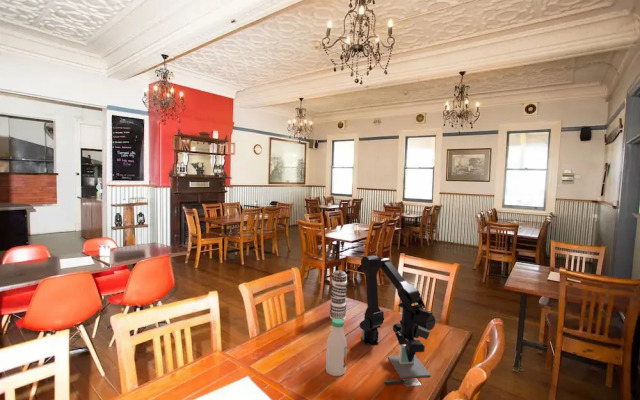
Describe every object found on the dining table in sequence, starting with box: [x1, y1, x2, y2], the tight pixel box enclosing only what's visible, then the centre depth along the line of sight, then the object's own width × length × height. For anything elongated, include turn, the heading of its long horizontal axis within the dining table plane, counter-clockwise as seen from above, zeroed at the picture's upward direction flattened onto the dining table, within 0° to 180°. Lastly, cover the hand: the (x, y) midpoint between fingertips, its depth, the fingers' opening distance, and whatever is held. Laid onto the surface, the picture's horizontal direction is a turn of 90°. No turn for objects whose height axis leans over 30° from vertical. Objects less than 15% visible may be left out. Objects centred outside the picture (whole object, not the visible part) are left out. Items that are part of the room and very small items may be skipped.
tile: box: [398, 344, 416, 364], centre depth 133 cm, size 6×2×7 cm, turn 98°
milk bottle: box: [325, 319, 348, 377], centre depth 126 cm, size 8×8×20 cm
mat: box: [387, 354, 431, 379], centre depth 131 cm, size 12×14×1 cm
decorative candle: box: [329, 270, 349, 321], centre depth 174 cm, size 9×9×25 cm
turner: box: [384, 377, 422, 387], centre depth 120 cm, size 13×4×1 cm, turn 98°
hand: (406, 357), depth 133 cm, fingers open, 6 cm apart
